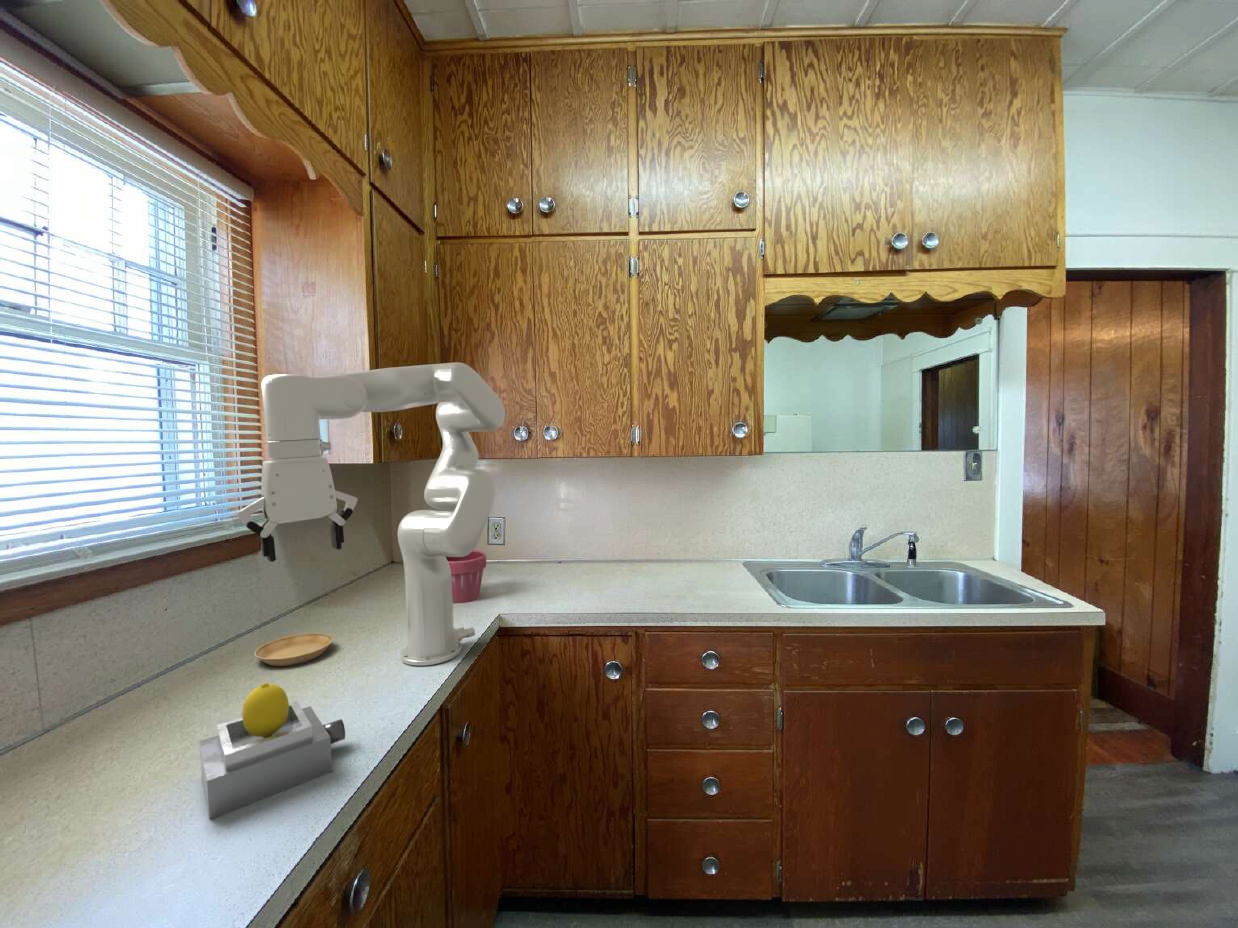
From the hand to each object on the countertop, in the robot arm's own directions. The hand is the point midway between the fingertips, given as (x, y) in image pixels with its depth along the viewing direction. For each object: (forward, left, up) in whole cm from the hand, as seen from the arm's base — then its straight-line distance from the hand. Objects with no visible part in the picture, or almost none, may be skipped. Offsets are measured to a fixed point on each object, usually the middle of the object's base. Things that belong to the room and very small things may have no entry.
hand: (305, 553), depth 89 cm
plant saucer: (-3, -34, -29) cm, 45 cm away
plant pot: (-48, -46, -29) cm, 72 cm away
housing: (+7, +11, -28) cm, 31 cm away
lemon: (+8, +11, -24) cm, 27 cm away
